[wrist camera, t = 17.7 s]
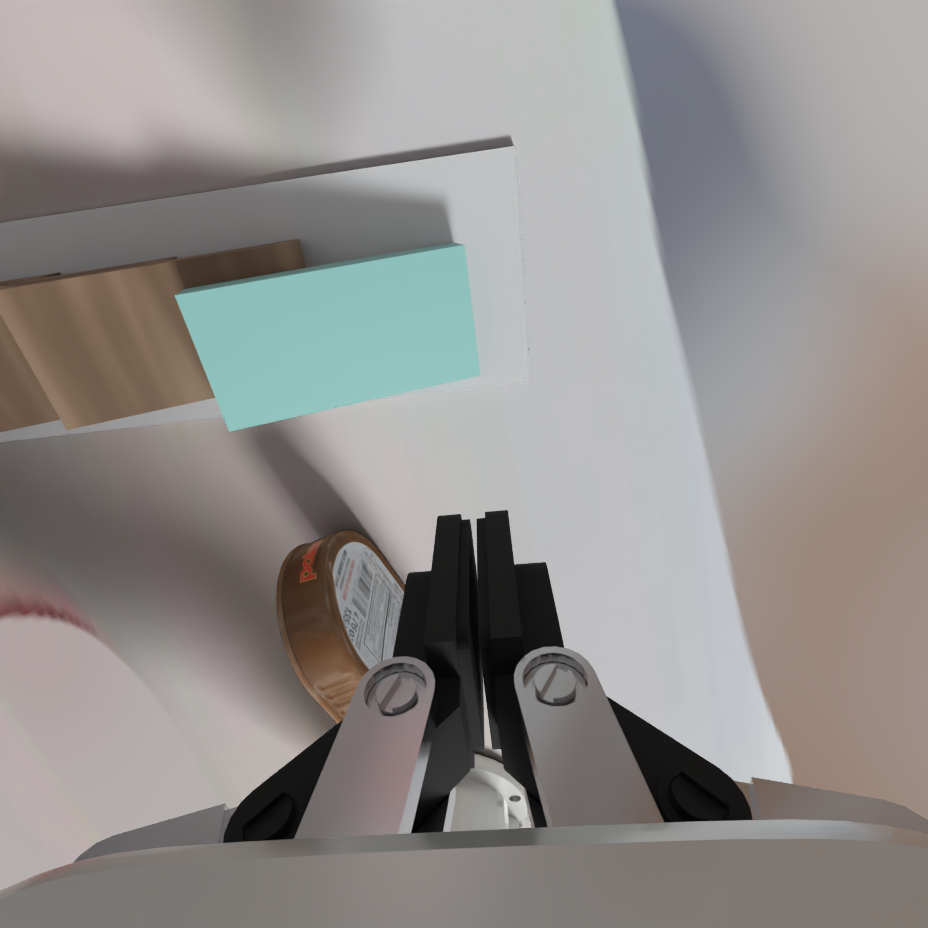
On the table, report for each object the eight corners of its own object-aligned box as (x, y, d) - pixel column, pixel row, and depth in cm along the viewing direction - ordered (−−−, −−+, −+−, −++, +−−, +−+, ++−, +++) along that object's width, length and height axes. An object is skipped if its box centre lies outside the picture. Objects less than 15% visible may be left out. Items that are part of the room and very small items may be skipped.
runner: (514, 146, 18) (514, 145, 18) (529, 380, 23) (530, 382, 22) (-217, 255, 21) (-225, 256, 20) (-76, 448, 25) (-81, 451, 25)
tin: (303, 513, 27) (238, 640, 19) (354, 493, 26) (307, 616, 18) (431, 684, 33) (419, 827, 26) (474, 671, 32) (475, 815, 25)
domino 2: (299, 240, 18) (-13, 291, 16) (334, 371, 21) (66, 430, 19) (298, 238, 20) (10, 285, 18) (331, 361, 22) (81, 415, 20)
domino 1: (168, 259, 19) (-152, 311, 17) (218, 385, 21) (-57, 444, 19) (177, 256, 20) (-119, 304, 18) (222, 375, 22) (-34, 429, 20)
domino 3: (464, 244, 18) (174, 295, 16) (480, 375, 21) (229, 431, 19) (453, 242, 20) (184, 288, 18) (469, 365, 22) (234, 416, 20)
